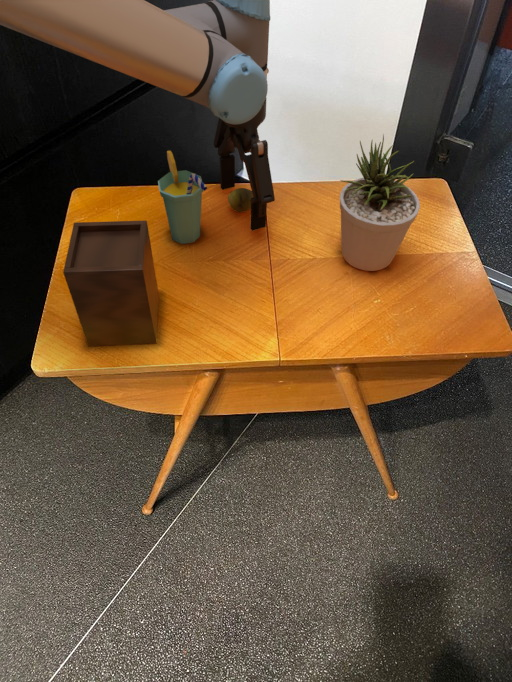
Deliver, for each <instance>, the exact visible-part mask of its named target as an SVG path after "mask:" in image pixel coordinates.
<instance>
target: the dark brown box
mask: <svg viewBox="0 0 512 682" xmlns="http://www.w3.org/2000/svg"><path fill="white" fill-rule="evenodd" d="M70 234H71V235H70V239H69V244H68V248H67V253H66V258H65V262H64V266H63V277H64V279H65V282H66V284H67V288H68V291H69V294H70V297H71V300H72V303H73V305H74V309H75V312H76V314H77V317H78V320H79V324H80V326H81V330H82V332H83V335H84V338H85V341H86V344H87V346H88V348H89V347H111V346H112V347H115V346H137V345H156V344H157V340H158V323H159V306H160V305H159V304H160V303H159V302H160V293H159V287H158V281H157V280H158V279H157V276H156V268H155V263H154V255H153V250H152V244H151V238H150V231H149V226H148V220H116V221H115V220H114V221H83V222H82V221H81V222H80V221H79V222H78V221H77V222H76V221H75V222H73V224H72V230H71V233H70Z"/></svg>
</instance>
